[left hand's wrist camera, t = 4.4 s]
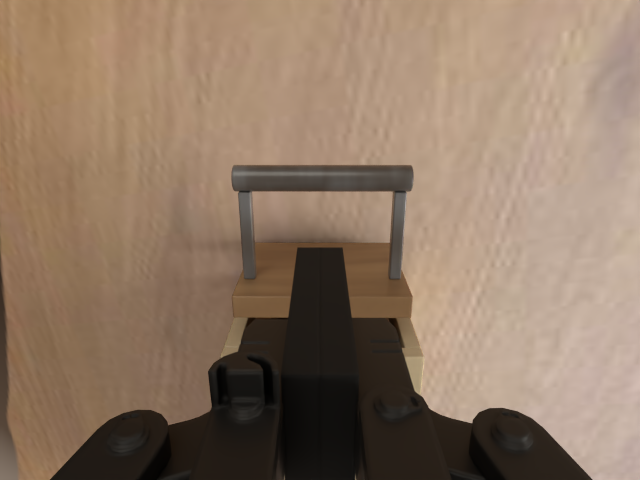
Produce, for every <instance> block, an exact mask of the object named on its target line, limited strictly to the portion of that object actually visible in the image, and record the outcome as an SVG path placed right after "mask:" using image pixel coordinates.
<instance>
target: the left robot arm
mask: <svg viewBox="0 0 640 480" xmlns="http://www.w3.org/2000/svg"><path fill="white" fill-rule="evenodd" d="M208 375H209V384H210V393H211V403H212V408H211V411H209V412H208V413H206V414H204V415H202V416H200V417H197V418H194V419H191V420H188V421H184V422H180V423H176V424H172V425H168V423H167V421H166V420H165V418H164V417H163V416H162V415H161V414H159V413H157V412H154V411H152V410H135V411H131V412H126V413H123V414H121V415H118V416H116V417H114V418H112V419H110V420H109V421H107V422H106V423H105V424H104V425H102V426H101V427H100V428H99V429H97V430H96V432H95V433H94V434H93V435H92V436H91V437H90V438H89V439H88V440H87V441H86V442H85V443H84V444H83V445H82V446H81V447H80V449H79V450H78V451H77V452H76V453H75V454H74V455H73V456H72V457H71V458H70V459H69V460H68V461H67V462H66V463H65V464H64V465H63V467H62V468H61V469H60V470H59V471H58V472H57V473H56V474H55V475H54V476H53V477H52V478H51V479H50V480H284V475H285V480H355V473H356V480H592V479H591V478H590V477H589V475H588V474H587V473H586V472H585V471H584V470H583V469H582V468H581V467H580V466H579V465H578V464H577V463H576V462H575V461H574V460H573V459H572V458H571V457H570V455H569V454H568V453H567V452H566V451H565V450H564V449H563V448H562V447H561V446H560V445H559V444H558V443H557V442H556V441H555V440H554V439H553V438H552V437H551V435H550V434H549V433H548V432H547V431H546V430H545V429H544V428H543V427H542V426H540V425H539V424H538V423H537V422H535V421H534V420H533V419H532V418H530V417H528V416H526V415H524V414H522V413H519V412H517V411H513V410H509V409H505V408H489V409H487V410H484V411H482V412H479V413H478V414H477V416H476V417H475V418H474V419H473V423H468V422H463V421H459V420H455V419H451V418H448V417H445V416H442V415H440V414H438V413H436V412H434V411H432V410H430V409H429V408H428V405H427V404H426V402H425V400H424V399H423V397H422V396H420V395H419V394H418V393H416V392H415V390H414V387H413V384H412V380H411V377H410V374H409V370H408V367H407V364H406V360H405V357H404V354H403V350H402V347H401V343H400V340H399V337H398V333H397V330H396V328H395V327H394V326H393V325H392V324H391V323H390V322H389V321H388V320H387V319H386V318H352V315H351V308H350V300H349V292H348V285H347V277H346V269H345V262H344V254H343V247H297V254H296V262H295V269H294V277H293V285H292V292H291V300H290V308H289V315H288V319H255V320H254V321H252V322H251V323H250V324H249V325H248V326H247V327H246V328H245V329H244V332H243V335H242V339H241V344H240V345H239V349H238V352H234V353H232V354H229V355H226V356H223V357H222V358H220V359H219V360H218V361H216V362H215V363H214V364H213V365H212V367H211V368H210V369H209V371H208Z"/></svg>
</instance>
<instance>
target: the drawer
mask: <svg viewBox="0 0 640 480" xmlns="http://www.w3.org/2000/svg"><path fill="white" fill-rule="evenodd" d="M413 179H414V175H413V168H412V166H411V165H234V166H233V168H232V187H233V190H234V191H239V193H238V198H239V213H240V228H241V242H242V257H243V271H242V273H241V276H240V278H239V281H238V283H237V286H236V288H235V291H234V293H233V296H232V304H233V316H234V318H256V319H288V315H289V308H290V300H291V292H292V285H293V277H294V269H295V262H296V254H297V247H343V254H344V262H345V269H346V277H347V285H348V292H349V300H350V308H351V315H352V318H386V319H387V320H388V321H389V319H388V318H411V313H412V301H413V296H412V294H411V292H410V289H409V287H408V284H407V282H406V279H405V277H404V274H403V272H402V269H401V267H402V253H403V239H404V226H405V212H406V198H407V193H406V191H411V190H412V187H413ZM252 191H393V200H392V217H391V233H390V243H255V238H254V220H253V202H252Z"/></svg>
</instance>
